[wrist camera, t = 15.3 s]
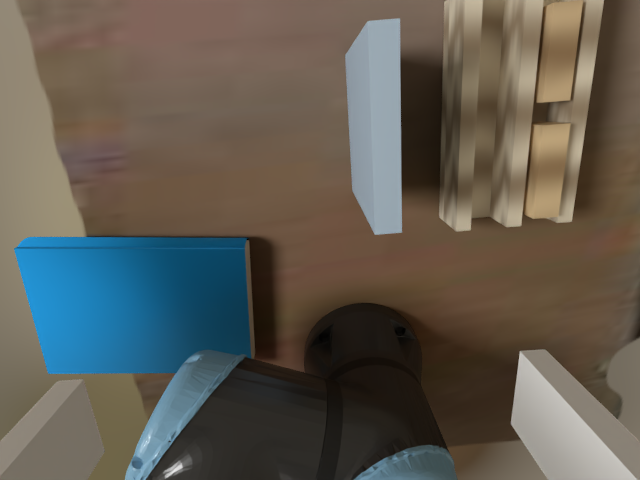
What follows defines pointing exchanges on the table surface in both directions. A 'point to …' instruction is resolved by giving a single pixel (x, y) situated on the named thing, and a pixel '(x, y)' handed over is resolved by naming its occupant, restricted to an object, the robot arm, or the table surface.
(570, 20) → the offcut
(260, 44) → the table surface
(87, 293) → the book
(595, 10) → the rack
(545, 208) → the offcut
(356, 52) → the pale blue panel
